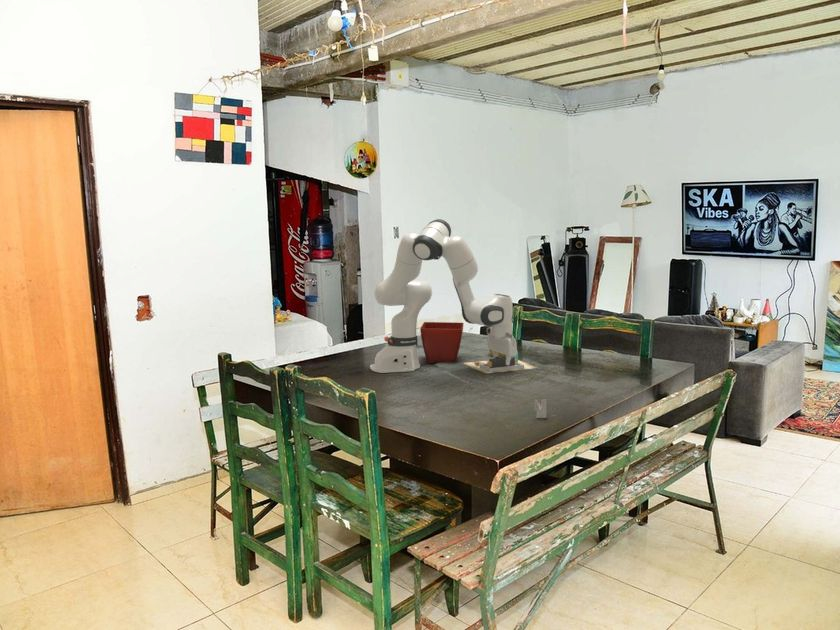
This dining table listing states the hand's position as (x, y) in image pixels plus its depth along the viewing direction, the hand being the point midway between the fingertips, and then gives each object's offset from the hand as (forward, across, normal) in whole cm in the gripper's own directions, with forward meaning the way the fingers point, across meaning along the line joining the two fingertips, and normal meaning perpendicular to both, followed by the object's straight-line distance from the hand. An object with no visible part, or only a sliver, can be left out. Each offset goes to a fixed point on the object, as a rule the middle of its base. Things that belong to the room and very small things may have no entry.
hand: (501, 362), depth 292 cm
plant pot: (+4, +30, +15) cm, 33 cm away
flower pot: (+4, +24, -12) cm, 28 cm away
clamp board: (+4, +6, -2) cm, 7 cm away
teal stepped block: (+2, +10, -11) cm, 15 cm away
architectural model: (+4, -59, +24) cm, 64 cm away
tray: (+2, 0, 0) cm, 2 cm away
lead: (+2, 0, 0) cm, 2 cm away
